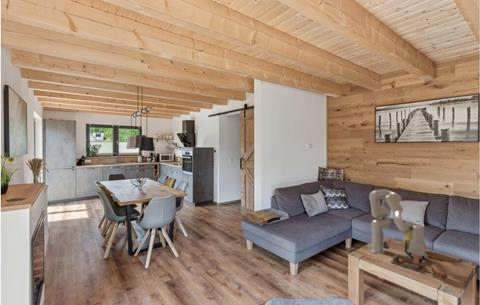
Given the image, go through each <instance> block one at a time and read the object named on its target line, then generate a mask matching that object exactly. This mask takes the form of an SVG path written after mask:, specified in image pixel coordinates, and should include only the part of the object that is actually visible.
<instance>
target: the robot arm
mask: <svg viewBox="0 0 480 305" xmlns="http://www.w3.org/2000/svg"><path fill="white" fill-rule="evenodd" d="M368 199H369V203H370V211H371V216H372V217H374V218H375V219H372V221H371V224H370V225H371V232H372V234H371V244H369V243H368V244H367V247H368V248H369V250H370V252H372V253H373V254H376V255H377V254H384V253H386V251H385V249H384V238H385V236H384V235H385V234H384V231H383V229H386V228H389V227H390V225H391V221H390V214H389V211H388V208H386V207H385V206H382V205H381V204H382V203H381V202H380V200H381V199H382V200H383V199H384V200H385V202H386V204H387V205H388V207H389V209H390V211H391V212H392V214H393V215H392V216H393V217H392V218H393V222H394V223H395V226H396V227H397V229H398V231H400V232H402V233H407V232H409V231H412V237H410V239H411V241H410V246H409V249H408V250H407V252H408V253H409V254H410V255H411V256H412V261H413V254H416V255H419V256H420V259H419V263H422V259H423V258H425V259H426V258H428V254H427V253H426V245H425V246H424V243H425V242H424V243H423V241H424V227H423V226H422V225H420V224H416V223H415V222H413V221H406V222H404V221H403V218H402V213H403V212H404V208H403V207H402V205H401V203H400V202H402V196H401V195H400V194H398V193H397V192H394V191H392V190H389V189H386V188H383V189H382V188H381V189H375V190H373V191H371V192H370V193H369V195H368ZM424 255H425V256H424ZM412 261H411V262H412ZM422 264H423V263H422Z"/></svg>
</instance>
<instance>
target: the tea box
mask: <svg viewBox="0 0 480 305" xmlns="http://www.w3.org/2000/svg"><path fill="white" fill-rule="evenodd" d="M410 241H411V240H405V247H404V256H406V257H407V258H408V259H409V261H411V262H413V261H412V256H411V255H410V254H409V253H408V252H407V250H408V249H409V246H410ZM424 256H425V255H424ZM425 262H426V257H425V258H423V259H422V264H425Z"/></svg>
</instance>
